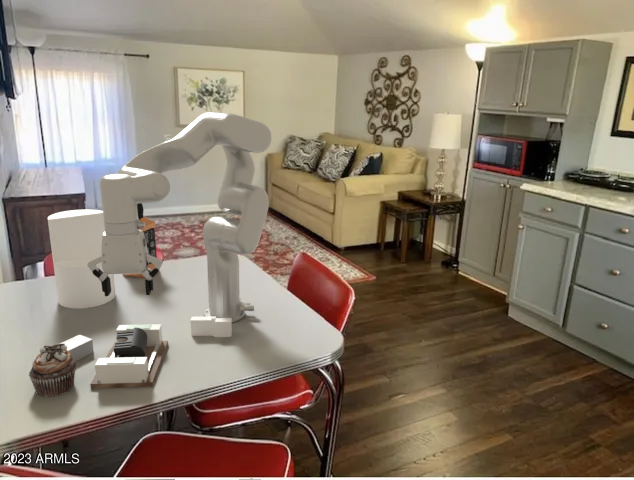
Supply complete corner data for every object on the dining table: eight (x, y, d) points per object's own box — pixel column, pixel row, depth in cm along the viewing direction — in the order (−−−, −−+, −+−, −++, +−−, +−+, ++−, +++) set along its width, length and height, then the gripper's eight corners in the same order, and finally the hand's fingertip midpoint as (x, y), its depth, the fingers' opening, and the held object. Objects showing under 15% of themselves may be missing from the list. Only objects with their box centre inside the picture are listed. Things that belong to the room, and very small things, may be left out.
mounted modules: (162, 340, 133) (161, 323, 132) (145, 382, 114) (144, 362, 113) (120, 341, 132) (119, 324, 131) (97, 383, 113) (94, 364, 112)
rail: (161, 340, 133) (161, 338, 133) (145, 382, 114) (145, 379, 114) (121, 341, 132) (120, 339, 132) (97, 383, 113) (97, 380, 113)
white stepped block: (179, 337, 139) (178, 318, 138) (208, 322, 149) (207, 305, 147) (218, 352, 132) (217, 333, 130) (245, 336, 141) (245, 318, 139)
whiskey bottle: (160, 270, 188) (155, 188, 179) (144, 279, 179) (138, 193, 170) (137, 266, 191) (131, 186, 182) (120, 275, 182) (113, 190, 172)
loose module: (93, 352, 129) (92, 339, 128) (66, 366, 122) (64, 352, 121) (81, 347, 131) (79, 334, 130) (53, 361, 124) (51, 347, 123)
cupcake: (30, 382, 115) (24, 344, 112) (75, 371, 120) (71, 335, 117) (32, 404, 107) (26, 364, 104) (81, 391, 112) (76, 353, 109)
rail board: (168, 344, 134) (167, 340, 134) (152, 386, 115) (152, 382, 115) (115, 345, 132) (114, 341, 132) (90, 388, 113) (90, 384, 113)
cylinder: (51, 295, 162) (41, 213, 154) (105, 283, 173) (97, 207, 165) (67, 313, 150) (56, 225, 142) (123, 299, 161) (116, 217, 153)
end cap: (146, 369, 120) (144, 344, 118) (115, 372, 118) (113, 347, 116) (148, 349, 129) (146, 326, 127) (119, 351, 127) (117, 328, 125)
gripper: (162, 222, 119) (167, 286, 125) (88, 223, 117) (96, 288, 122) (156, 231, 112) (162, 299, 117) (77, 232, 110) (86, 301, 115)
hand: (128, 293), depth 120 cm, fingers open, 9 cm apart
